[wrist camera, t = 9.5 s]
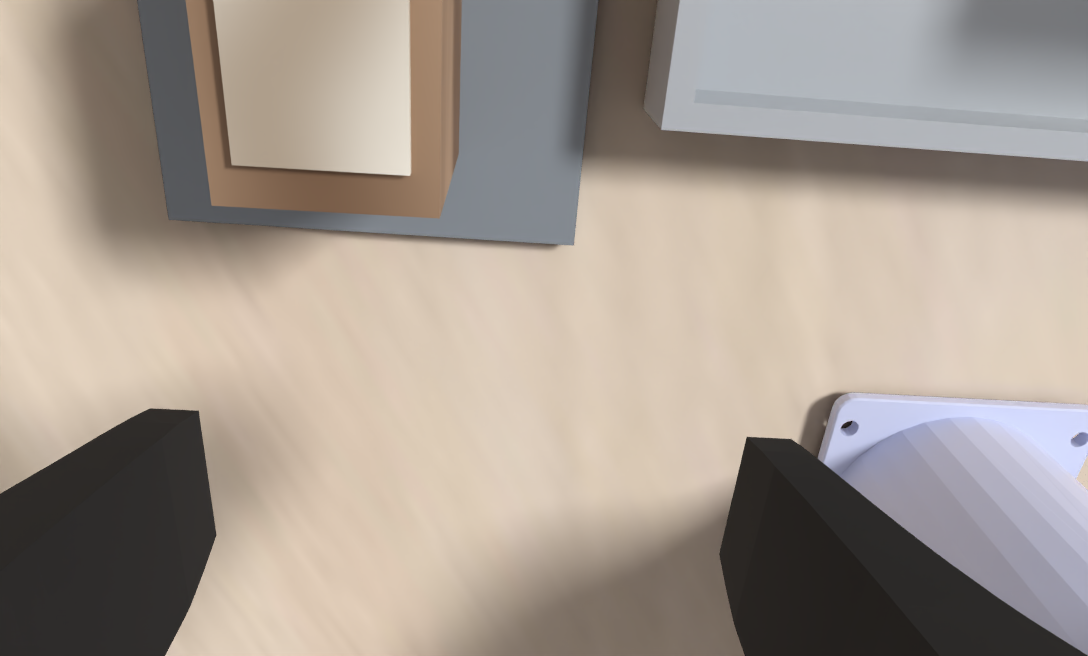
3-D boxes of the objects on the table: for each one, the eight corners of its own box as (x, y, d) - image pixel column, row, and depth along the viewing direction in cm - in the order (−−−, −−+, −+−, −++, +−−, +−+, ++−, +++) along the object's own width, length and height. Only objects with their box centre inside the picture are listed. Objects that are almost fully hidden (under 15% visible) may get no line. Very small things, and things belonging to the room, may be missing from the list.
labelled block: (464, -139, 15) (442, -182, 11) (458, 154, 18) (438, 221, 13) (265, -156, 15) (153, -208, 10) (288, 143, 18) (207, 209, 13)
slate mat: (572, 238, 20) (573, 245, 19) (176, 213, 19) (168, 219, 18) (619, -231, 15) (621, -237, 15) (108, -285, 15) (94, -292, 14)
